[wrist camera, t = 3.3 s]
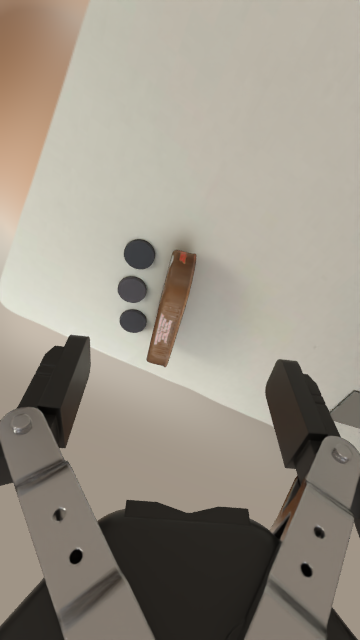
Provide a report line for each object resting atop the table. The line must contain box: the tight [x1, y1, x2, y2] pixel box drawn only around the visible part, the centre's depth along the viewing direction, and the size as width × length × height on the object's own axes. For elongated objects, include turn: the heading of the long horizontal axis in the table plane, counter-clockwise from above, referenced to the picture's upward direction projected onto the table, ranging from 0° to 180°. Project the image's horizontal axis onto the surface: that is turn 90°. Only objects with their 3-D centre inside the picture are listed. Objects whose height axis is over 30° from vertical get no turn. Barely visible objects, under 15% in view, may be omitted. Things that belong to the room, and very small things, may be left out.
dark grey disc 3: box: [120, 309, 146, 333], centre depth 43 cm, size 4×4×1 cm
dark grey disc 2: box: [118, 276, 147, 303], centre depth 40 cm, size 4×4×1 cm
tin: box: [147, 250, 196, 367], centre depth 37 cm, size 15×3×8 cm, turn 166°
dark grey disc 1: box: [124, 239, 155, 269], centre depth 37 cm, size 4×4×1 cm
